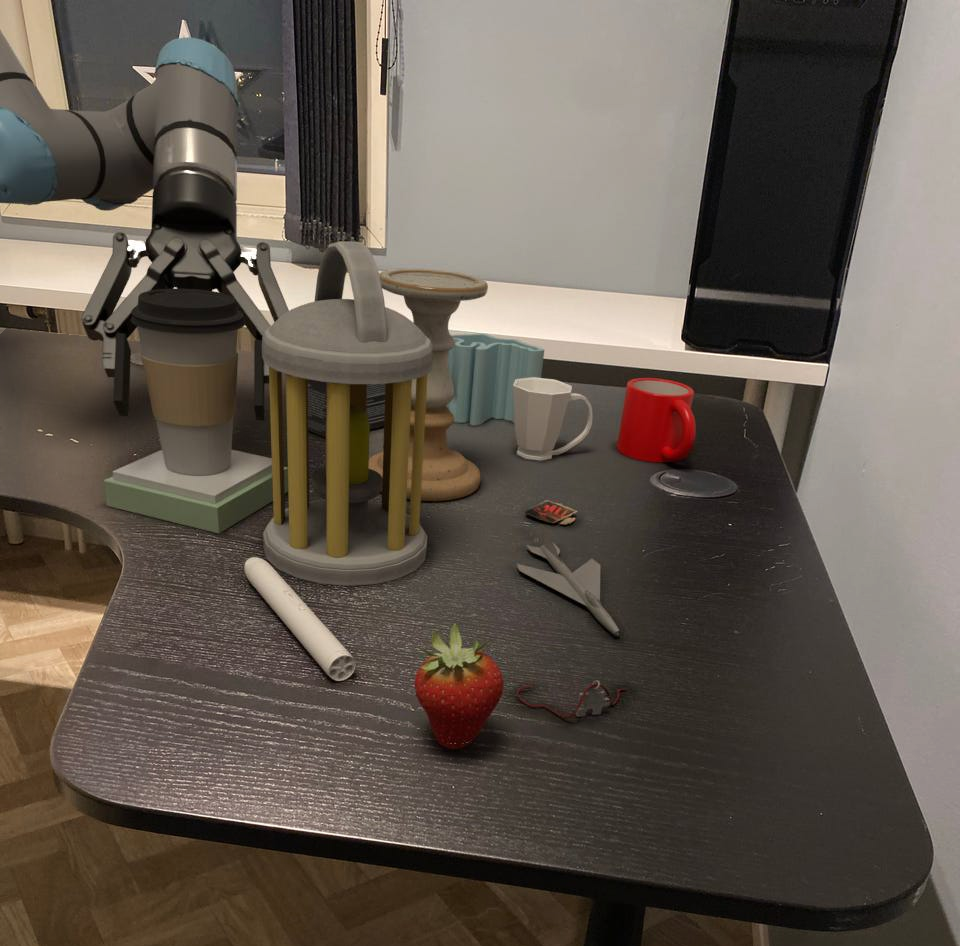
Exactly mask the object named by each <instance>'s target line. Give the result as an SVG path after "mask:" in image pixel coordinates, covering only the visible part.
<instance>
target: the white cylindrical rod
mask: <svg viewBox="0 0 960 946" xmlns="http://www.w3.org/2000/svg"><path fill="white" fill-rule="evenodd" d="M243 569H244V574H245V576H246V578H247V580H248V581H249V583H250V584H251V585H252V586H253V587H254V589H255V590H256V591H257V592H258V593H259V595H260V596H261V597H262V598H263V599H264V600H265V602H266V604H268V606H270V608H271V609H272V610H273V611H274V613H275V614H276V615H277V616H278V617H279V619H280V620H281V621H282V622H283V623H284V625H285V626H286V627H287V628H288V629H289V631H290V632H291V633H292V634H293V635H294V636H295V638H296V639H297V640H298V641H299V642H300V643H301V645H302V646H303V648H304V649H305V650H306V651H307V653H309V655H310V656H311V657H312V658H313V659H314V661H315V662H316V663H317V664H318V665H319V666H320V667H321V669H322V670H323V671H324V673H325V674H326V675H327V676H328V677H329V678H330V679H332V680H334V681H336V682H337V681H338V682H341V681H345V680H347V679H348V678H350V677H351V676H352V675H353V673H354V672H355V671H356V662H355V661H356V660H355V658H354V657H353V655H352V654H351V652H349V651H348V650H347V648H346V647H345V646H344V645H343V644H342V643H341V642H340V640H338V638H337V637H336V636H335V635H334V634H333V633H332V631H331V630H330V629H329V628H328V627H327V626H326V625H325V624H324V623H323V621H322V620H321V619H320V618H319V617H318V616H317V615H316V614H315V613H314V612H313V611H312V609H310V607H309V606H308V605H307V604H306V603H305V601H303V599H302V598H300V596H299V595H298V593H296V592H295V591H294V589H293V588H292V587H291V586H290V585H289V584H288V583H287V581H285V580H284V578H283V577H282V576H281V575H280V574H279V573H278V572H277V571H276V570H275V568H274V567H273V566H272V565H271V563H270V562H268V561H266V560H265V559H263V558H261V557H258V556H257V557H256V556H252V557H249V558H248V559H247V560H245V563H244V568H243Z"/></svg>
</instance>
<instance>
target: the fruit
mask: <svg viewBox="0 0 960 946" xmlns="http://www.w3.org/2000/svg"><path fill="white" fill-rule="evenodd" d="M462 639H463V638H462V636H461V633H460V630H459V627H458V623H457V622H456V623H454V624H453V626H452V627H451V628H450V633H449V646H448V645H447V644H446V643H445V642H444V641H443V639H442V638H441V636H440V635H439V633H438V631H437V629H435V630H434V631H433V633H432V635H431V637H430V643H431V646H432V647H433V649H435V650H437V651H438V652H437V653H436V652H431V651H429V650H427V649H425V647H424V646H423V645H422V644H421V645H420V647H421V649H422V650H423V651H424V652H425V653H427V654H428V656H429V657H428V658H426V659H425V661H424V662H423V663H421V665H420V667H419V668H418V670H417V672H416V674H415V677H414V690H415V696H416V698H417V700H418V703H419V704H420V705H421V707H422V709H423V710H424V712H425V713H426V715H427V716H426V717H427V718H428V720H429V723H430V726H431V730H432V732H433V734H434V737H435V739H436V741H437V743H439V744H440V745H441V746H442V747H444V748H446V749H448V750H460V749H463V748H465V747H466V746H468V745H470V744H471V743H472V742H473V741H474V740H475V738H476V737H477V736H478V735H479V733H480V732H481V730H482V729H483V727H484V726H485V724H486V722H487V720H488V719H489V717H490V716H491V715H492V713H493V711H494V710H495V709H496V707H497V705H498V704H499V703H500V700H501V698H502V695H503V692H504V685H505V684H504V683H505V682H504V677H503V674H502V672H501V670H500V668H499V666H498V665H497V664H496V663H495V661H494V660H493V659H492V657H490V656H489V655H487V654H486V653H484V652H483V651H480V650H481V649H482V648H484V647H485V646H486V645H487V644H488V642H490V639H491V638H488V639H487V640H486V642H484V643H482V644H480V638H478V637H477V638H476V641H475V642H474V645H473V647H471V648H467V647H462V645H463V640H462ZM439 652H440V653H439ZM471 740H472V741H471ZM469 741H470V742H469ZM466 742H468V743H466ZM450 743H452V744H450ZM454 743H456V744H454ZM462 743H464V744H462Z"/></svg>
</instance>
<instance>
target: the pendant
mask: <svg viewBox="0 0 960 946" xmlns="http://www.w3.org/2000/svg"><path fill="white" fill-rule="evenodd" d="M599 688H602V689H603V690H599V691H598V689H599ZM527 689H532V686H531V685H529V686H523V687H520V688H519V689H518V690H517V691H516V697H517V699H518V700H519V701H520V702H521V703H523V704H524V705H526V706H527V707H530V708H544V709H546V710H547V711H550V712H552V713H553V714H555V715H557V716H558V717H560V718H564V719H570V718H572V717H573V716H576V717H577V718H579V717H585V716H586V713H587V711H588V710H590V709H591V715H592V716H597V715H602V711H603V710H602V709H603V707H608V706H615V705H616V704H617V703H618V701H619V699H620V696H621V695H620V692H622V691H627V687H623V688H619V689H617V691H616V693H617V695H616V699H615V700H614V702H612V698H611V696H610V697H608V696H609V695H610V692H609V690H608V689H607V687H606V686H605V685H603V684H601V682H600V680H594V681H593V682H592V684H590V685H589V686H587V688H586V689H585V690H584V691H583V692H580V693H579V694H578V700H577V701H578V703H577V706H576V707H575V709H574V711H575V710H577V712H574V711H573V712H572V713H571V714H569V715H565V714H561V713H560V712H558V711H556V710H554V709H553V708H551V707H549V706H548V705H544V704H536V705H534V704H530V703H529V702H527V701H525V700H524V699H523V698H522V697H521V696H520V692H521V691H523V690H527ZM605 694H606V695H607V697H605ZM604 700H605V701H607V700H610V701H611V702H604V703H595V704H586V703H590V702H592V703H593V702H597V701H598V702H600V701H604ZM582 703H584V705H583V706H581V705H582Z"/></svg>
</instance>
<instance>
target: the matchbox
mask: <svg viewBox="0 0 960 946" xmlns="http://www.w3.org/2000/svg"><path fill="white" fill-rule="evenodd" d="M576 513H578V510H576V509H573V508H570V507H569V506H565V505H563V503H558V502H555V501H552V500H549V499H545V500H543V501H542V502H541V501H540V502H539V503H537V504H536V505H534V506H530V507H528V509H527V510H526V511H525V512H524V514H527V515H528V516H530V517H533V518H536V519H538V520H540V521H544V522H546V523H551V524H554V523H558V524H560V525H568V524H569V525H571V524H572V523H573V522H574V521H576V517H574V516H573V515H574V514H576ZM572 516H573V517H572Z"/></svg>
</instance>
